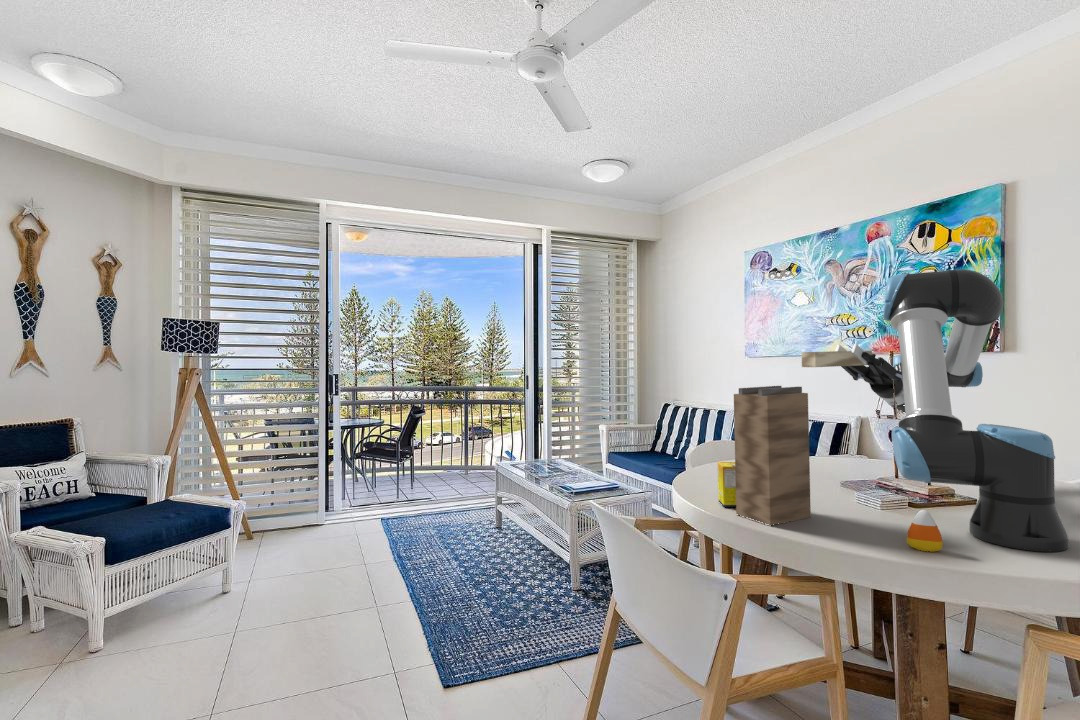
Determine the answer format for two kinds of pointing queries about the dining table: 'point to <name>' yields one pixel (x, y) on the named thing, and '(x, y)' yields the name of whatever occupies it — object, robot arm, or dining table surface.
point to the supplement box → (727, 484)
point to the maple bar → (830, 359)
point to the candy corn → (924, 533)
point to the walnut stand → (772, 454)
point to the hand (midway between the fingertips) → (845, 348)
